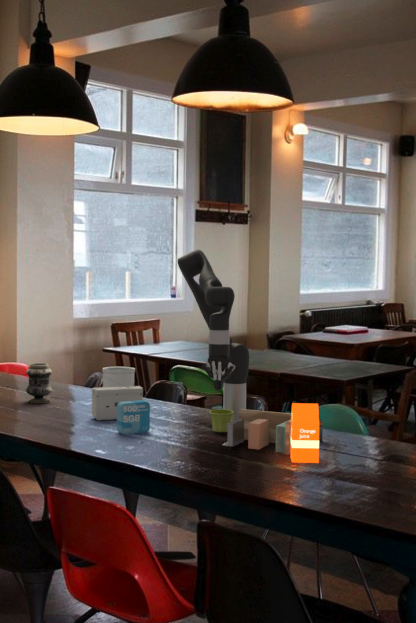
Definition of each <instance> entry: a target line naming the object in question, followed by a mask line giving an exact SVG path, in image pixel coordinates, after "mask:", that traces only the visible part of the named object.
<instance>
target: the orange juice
mask: <svg viewBox="0 0 416 623" xmlns="http://www.w3.org/2000/svg"><path fill="white" fill-rule="evenodd" d="M319 412H320V411H319V403H310V402H309V403H308V402H307V403H300V402H292V403H291V453H290V454H289V455H290V456H289V457H290V460H291V461H290V462H291V463H295V464H297V463H299V464H300V463H301V464H304V463H305V464H319V463H320V443H319V414H320V413H319ZM291 467H296V465H293V464H291Z"/></svg>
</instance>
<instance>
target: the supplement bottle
mask: <svg viewBox="0 0 416 623" xmlns="http://www.w3.org/2000/svg"><path fill="white" fill-rule="evenodd" d="M322 442H323V420H322V419H321V413H319V444H321V443H322Z"/></svg>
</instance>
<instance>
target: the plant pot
mask: <svg viewBox="0 0 416 623" xmlns="http://www.w3.org/2000/svg"><path fill="white" fill-rule="evenodd" d="M233 413H234V412H233V411H231V410H225V409H222V408H221V409H220V408H219V409H212V410H209V414H210V418H211V426H212V431H213V432H216V433H228V423H231V417H232V414H233Z"/></svg>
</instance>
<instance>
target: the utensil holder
mask: <svg viewBox="0 0 416 623" xmlns="http://www.w3.org/2000/svg"><path fill="white" fill-rule="evenodd" d="M135 373H136V368H135V367H129V366H107V367H102V375H104V376H106V377H108V378H110V379H113V380H115V381H117V382H119V383H121V384H123V385H125V386H135ZM104 376H102V382H103V383H102V387H123V385H121V384H119V383H117V382H114V381H112V380H110V379H108V378H106V377H104Z"/></svg>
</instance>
